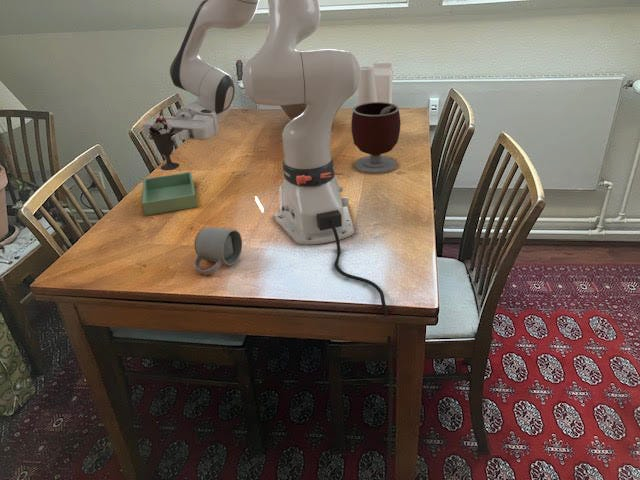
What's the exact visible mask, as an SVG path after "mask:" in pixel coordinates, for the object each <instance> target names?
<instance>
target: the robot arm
mask: <svg viewBox="0 0 640 480" xmlns="http://www.w3.org/2000/svg"><path fill="white" fill-rule="evenodd" d="M259 3H260V0H203V1H201V2H200V4H199V5H198V7H197V8H196V10H195V12H194V14H193V17H192V19H191V21H190V23H189V26H188V27H187V30H186V33H185V35H184V38H183V41H182V42H181V45H180V47H179V50H178V52H177V53H176V55H175V57H174V58H173V60H172V62H171V64H170V67H169V76H170V79H171V81H172V84H173V86H175V87H177V88H178V89H181V90H183V91H186V92H188V93H190V94H192V95H194V96H196V97H197V99H196V100H195V101H192V102H190V103H187V104H186V105H185V104H184V105H183V106H182V107H180V108H178V109H177V110H176V111H175V114H174V116H173V115H172V116H171V115H163V116H162V115H158V116H153V117H152V118H149V119H147V120H144V121H143V122H142V129H143V133H144V135H145V136H147V139H148V140H152V141H154V139H153V136H151V135H150V134H149V132H150V130H149V128H151V127H153V124H154V122H155V121H156V119H157V118H160V119H161V120H162V119H163V117H164V119H166V122H167V123H169V124H170V125H171V128H175V130H174V132H173V134H172V135H171V141H173V143H178V142H179V141H183V140H195V141H207V140H210V139H212V138H213V137H215V136H218V135H219V134H220V129H219V128H220V127H219V124H220V123H221V122H222V121H223V120H225V118H226V117H227V116H228V115H229V114H230V110H231V105H232V102H233V100H234V97H235V91H236V89H235V84H234V80H233V78H232V76H231V75H230V74H229V73H227V72H225V71H223V70H222V69H220V68H218V67H217V66H216V67H215V66H214V65H212V64H210V63H208V62H207V61H205V60H203V59H202V58H201V57H200V54H199V53H200V50H201V48H202V46H203V44H204V41H205V39H206V36H207V35H208V32H209V31H210V30H211V29H212V28H213V29H224V30H227V29H228V30H234V29H239V28H243V27H246V26H247V25H249V23H251V21H252V20H253V19H254V17H255V14H256V12H257V9H258V5H259ZM267 4H268V30H267V34H266V37H265V39H264V42H263V44H262V45H261V47H260V48H259V50H258V51H257V52H256V54H255V55H253V56H251V58H250V59H249V60H248V61H247V63H246V64H245V66H244V69H243V72H242V79H241V80H242V86H243V89H244V92H245V94H246V96H247V97H248V99H249V100H250V101H251V102H252V103H254V104H255V105H261V106H271V107H279V106H280V107H281V105H292V104H303V103H304V104H307V107H306V109H305V110H304V112H303V113H302V114H301V115H299V116H298V117H296V118H294V119H293V120H291V119H290V121H289V122H288V123H287V124H286V125H285V126H284V128H283V130H282V133H281V139H282V149H283V157H284V158H283V161H282V172H283V177H284V180H283V181H282V183H281V184H280V185H279V186H278V194H279V195H278V197H279V211H277V212H276V213H275V214H274V221H275V222H276V223H277V224H278V225H279V226H280V227H281V228H282V229H283V230H284V231H285V233H286V234H288V236H289V237H291V239H293V241H294V242H295V243H296V244H298V245H308V246H309V245H320V244H326V243H332V242H335V243H336V258H335V260H334V268H335V270H336V271H337V272H338V273H339V274H340V275H342V276H343V277H346V278H348V279H351V280H355V281H358V282H362V283H365V284H368V285H369V286H371V287H372V288H374V289H375V290H376V291H377V292H378V294H379V297H380V303H381V308H382V313H383V316H384V317H388V316H389V312H388V308H387V304H386V299H385V298H386V297H385V294H384V291H383V290H382V289H381V288H380V286H379V285H378V284H376V283H375V282H373V281H371V280H370V279H367V278H364V277H361V276H356V275H353V274H349V273H347V272H345V271H343V270H342V269H341V268H340V266H339V262H340V261H339V260H340V257H341V251H342V250H341V244H340V240H343V239H346V238H349V237H350V236H352V235H354V234H355V228H354V224H353V221H352V217H351V213H350V210H349V197H348V196H341V193H343V192H344V189H343V186H341V185H340V186H339V181H338V178H339V177H338V176H337V175H335V165H334V164H335V163H334V161H333V158H332V154H331V153H332V151H331V149H332V148H331V142H332V141H331V137H332V127H333V123H334V120H335V118H336V116H337V114H338V112H339V110H340V109H341V108H342V106H343V105H344V104H345V102H346V101H348V100H349V99H350V98H351V97H352V96H353V95H354V94H355V93H356V92H357V88H358V86H359V83H360V77H361V72H360V67H361V66H360V64H359V62H358V60H357V58H356V56H355V55H354V54H353V53H352V52H351V51H348V50H342V49H333V48H325V49H314V50H313V49H312V50H302V51H300V50H297V49H296V47H297V46H298V44H300V43H301V42H302V41H304V40H306V39H307V38H308V37H310V36H311V35H313V34H314V33H315V32H316V31H317V29H318V27H320V26H319V25H320V23H321V9H320V2H319V0H267ZM159 116H160V117H159ZM254 198H255V199H254V200H255V202H256V204H257V205H258V207H259V210H260V211H261V213H264V207H263V206H262V204H261V202H260V200H259V198H258V197H257V196H254ZM386 341H387V353H388V355H387V357H388V427H387V428H388V430H387V469H386V471H387V474H386V475H387V477H388V478H390V477H391V476H392V475H391V474H392V473H391V472H392V469H391V468H392V462H391V461H392V436H393V435H392V433H393V431H392V430H393V403H394V402H393V399H394V372H393V371H394V370H393V368H394V367H393V347H392V335H390V334H389V335H387V336H386Z"/></svg>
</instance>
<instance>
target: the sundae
mask: <svg viewBox="0 0 640 480" xmlns="http://www.w3.org/2000/svg"><path fill="white" fill-rule="evenodd" d="M159 111H160V114H159V115H158V116H159V117H160V116H164V114H163V111H164V110H163V109H161V110H159ZM149 130H150V132H149V134H150V135H151V136H153V139H154V140H153V141H154V143H155V146H156V149H157V151H158V153H160V154H161V155H163V156H164V157H165V163H164V164H163V165H161V166H160V170H162V171H173V170H175V169H178V168H179V167H180V164H179V163H178V162H173V161H172V159H171V155H172V153H173V151H174V147H175V146H174V145H175V144H174V143H175V142H173V141H171V135H172V134H173V132H174V130H175V128H171V125H170V124H169V123H167V122H166V119H164V117H163V119H162V120H161V119H160V118H157V119H156V121H155V122H154V124H153V127H151V128H149Z"/></svg>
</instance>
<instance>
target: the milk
mask: <svg viewBox="0 0 640 480" xmlns="http://www.w3.org/2000/svg"><path fill="white" fill-rule="evenodd" d="M373 67H374V73H375V84H376V95H377V102H386V103H391V104H393V69H392V63H391V62H374V63H373Z"/></svg>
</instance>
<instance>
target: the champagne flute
mask: <svg viewBox="0 0 640 480" xmlns="http://www.w3.org/2000/svg"><path fill="white" fill-rule="evenodd" d="M359 67H360V72H361V77H360V83H359V86H358V88H357V90H356V95H355V96H356V97H355V106H357V105H360V104H364V103H370V102H377V95H376V84H375V73H374V66H372V65H362V66H359Z"/></svg>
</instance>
